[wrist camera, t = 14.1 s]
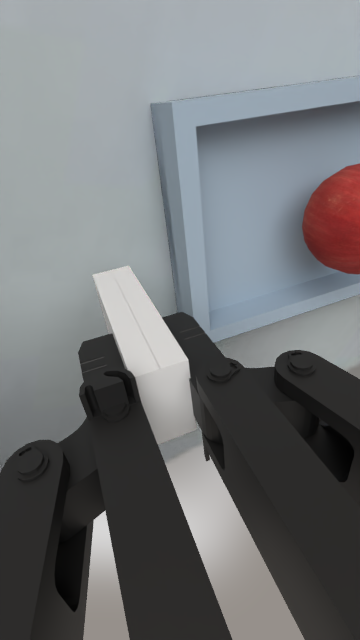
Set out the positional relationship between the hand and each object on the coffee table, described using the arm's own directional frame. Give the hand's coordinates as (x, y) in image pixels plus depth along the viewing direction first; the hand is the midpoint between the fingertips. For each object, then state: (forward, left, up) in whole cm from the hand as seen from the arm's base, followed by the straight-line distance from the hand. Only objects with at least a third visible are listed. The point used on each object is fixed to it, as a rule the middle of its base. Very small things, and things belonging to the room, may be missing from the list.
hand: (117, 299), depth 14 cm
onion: (+14, 0, -5) cm, 15 cm away
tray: (+12, 0, -6) cm, 14 cm away
